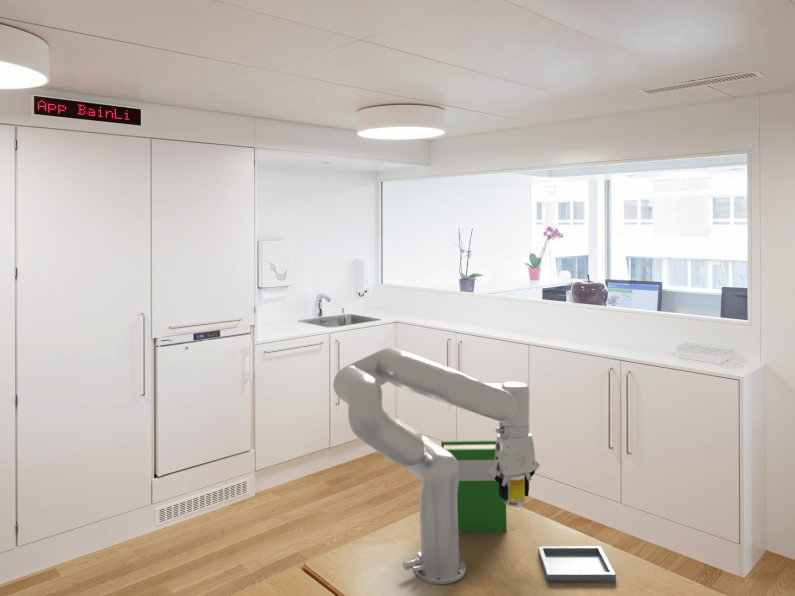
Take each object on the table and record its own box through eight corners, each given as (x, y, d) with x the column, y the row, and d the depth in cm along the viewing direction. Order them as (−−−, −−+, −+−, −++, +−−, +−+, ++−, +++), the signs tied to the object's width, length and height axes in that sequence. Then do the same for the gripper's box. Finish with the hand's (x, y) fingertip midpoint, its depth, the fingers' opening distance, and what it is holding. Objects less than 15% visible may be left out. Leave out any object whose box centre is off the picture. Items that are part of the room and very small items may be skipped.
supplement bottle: (529, 503, 156) (529, 466, 155) (515, 510, 152) (515, 471, 151) (512, 497, 160) (512, 460, 159) (498, 502, 157) (498, 465, 156)
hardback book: (444, 531, 168) (441, 450, 166) (443, 519, 176) (441, 441, 173) (506, 531, 167) (504, 449, 164) (503, 519, 174) (502, 440, 172)
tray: (547, 582, 142) (547, 574, 142) (538, 553, 155) (538, 546, 154) (615, 582, 141) (615, 574, 141) (600, 553, 154) (600, 546, 153)
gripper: (492, 438, 148) (492, 508, 150) (550, 429, 154) (549, 496, 156) (478, 429, 155) (478, 496, 156) (533, 421, 161) (533, 485, 163)
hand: (513, 495), depth 156 cm, fingers closed on supplement bottle, 5 cm apart
